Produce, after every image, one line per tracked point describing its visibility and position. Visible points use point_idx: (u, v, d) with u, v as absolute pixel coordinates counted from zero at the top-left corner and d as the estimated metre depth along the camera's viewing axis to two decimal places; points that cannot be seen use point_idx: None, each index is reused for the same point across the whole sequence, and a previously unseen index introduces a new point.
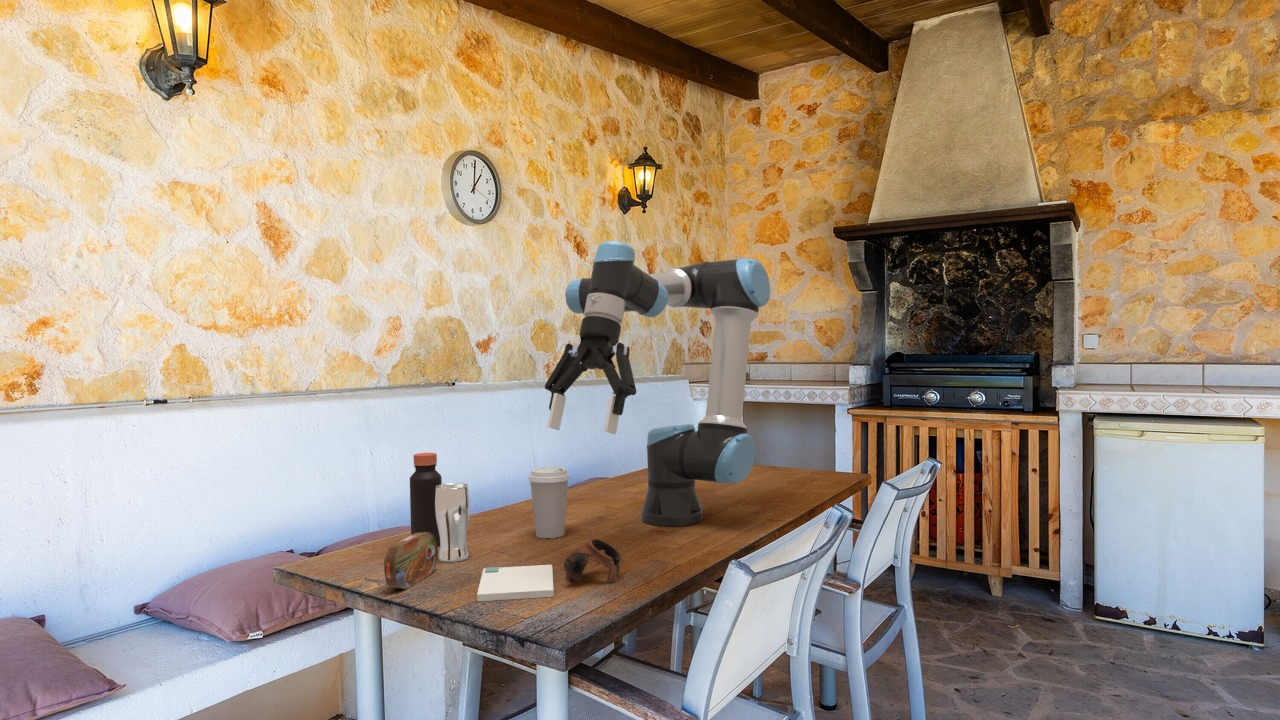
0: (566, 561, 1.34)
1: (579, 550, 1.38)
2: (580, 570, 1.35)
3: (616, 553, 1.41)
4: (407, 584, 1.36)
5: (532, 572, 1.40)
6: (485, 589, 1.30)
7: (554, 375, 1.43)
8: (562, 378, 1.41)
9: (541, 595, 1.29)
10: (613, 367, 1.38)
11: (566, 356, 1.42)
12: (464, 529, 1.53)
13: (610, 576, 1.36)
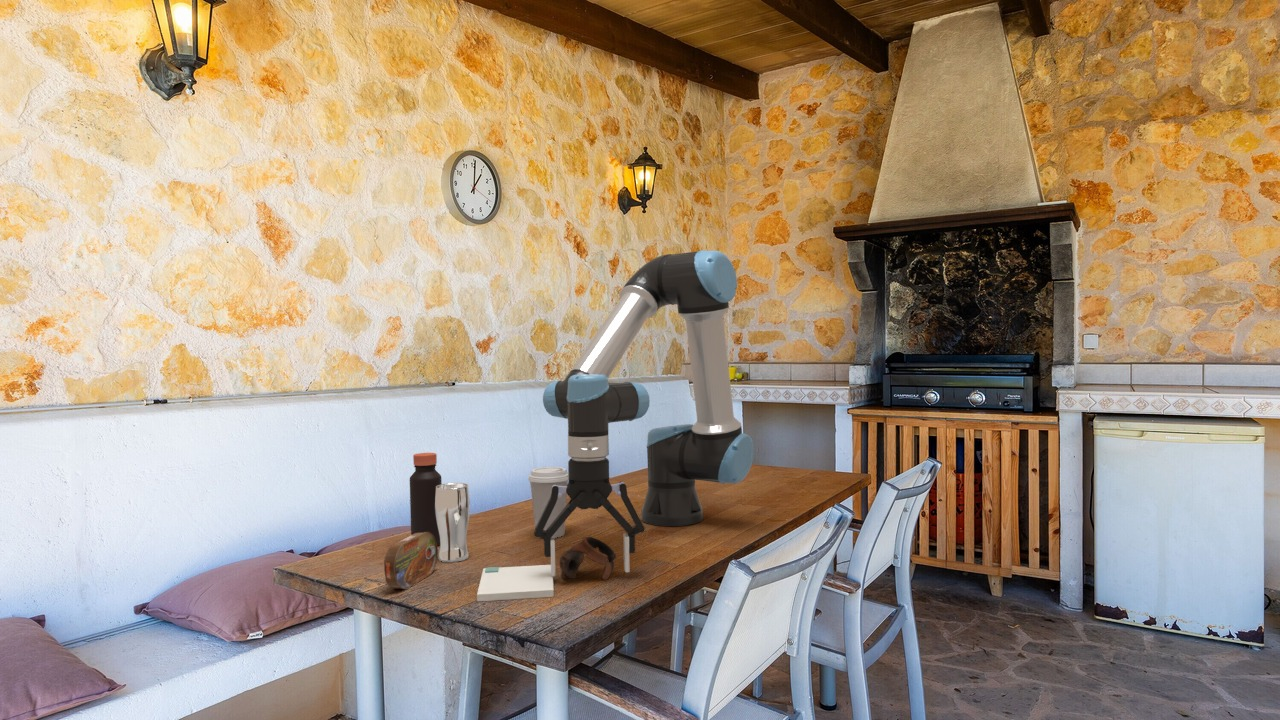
0: (562, 559, 1.36)
1: (574, 548, 1.39)
2: (575, 568, 1.37)
3: (610, 551, 1.42)
4: (407, 584, 1.36)
5: (532, 572, 1.40)
6: (485, 589, 1.30)
7: (545, 521, 1.36)
8: (557, 524, 1.36)
9: (541, 595, 1.29)
10: (611, 504, 1.40)
11: (556, 500, 1.36)
12: (464, 529, 1.53)
13: (605, 573, 1.38)
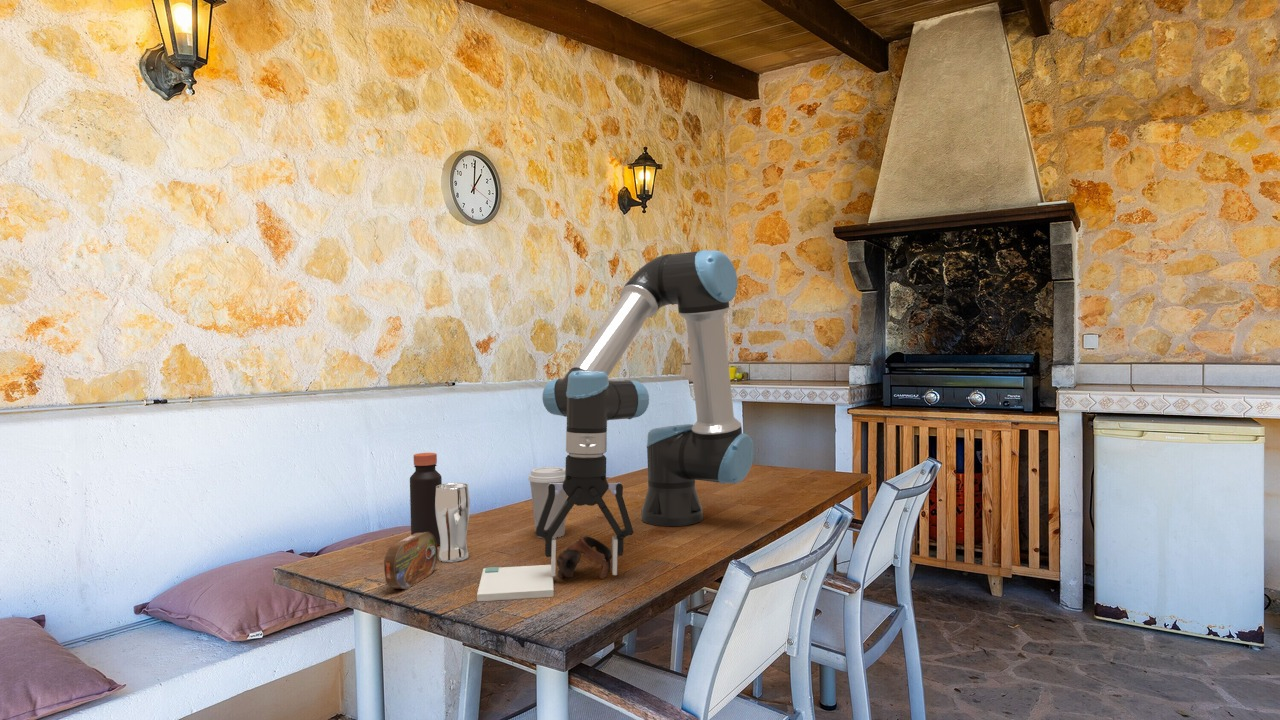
0: (559, 558, 1.36)
1: (571, 547, 1.40)
2: (573, 567, 1.37)
3: (607, 550, 1.43)
4: (407, 584, 1.36)
5: (532, 572, 1.40)
6: (485, 589, 1.30)
7: (545, 520, 1.36)
8: (557, 523, 1.36)
9: (541, 595, 1.29)
10: None
11: (554, 498, 1.36)
12: (464, 529, 1.53)
13: (602, 573, 1.38)
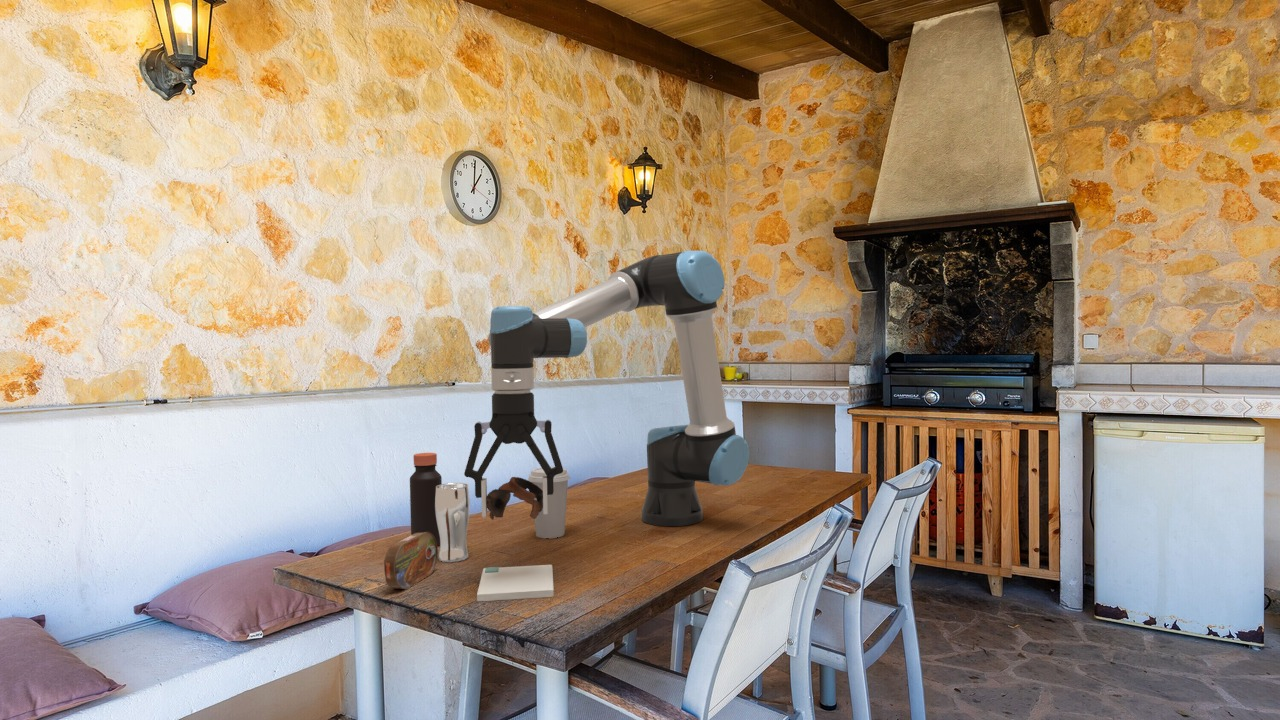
0: (487, 498, 1.33)
1: (501, 488, 1.37)
2: (502, 507, 1.35)
3: (540, 491, 1.40)
4: (407, 584, 1.36)
5: (532, 572, 1.40)
6: (485, 589, 1.30)
7: (473, 460, 1.33)
8: (485, 462, 1.34)
9: (541, 595, 1.29)
10: (534, 442, 1.37)
11: (481, 437, 1.33)
12: (464, 529, 1.53)
13: (533, 512, 1.36)
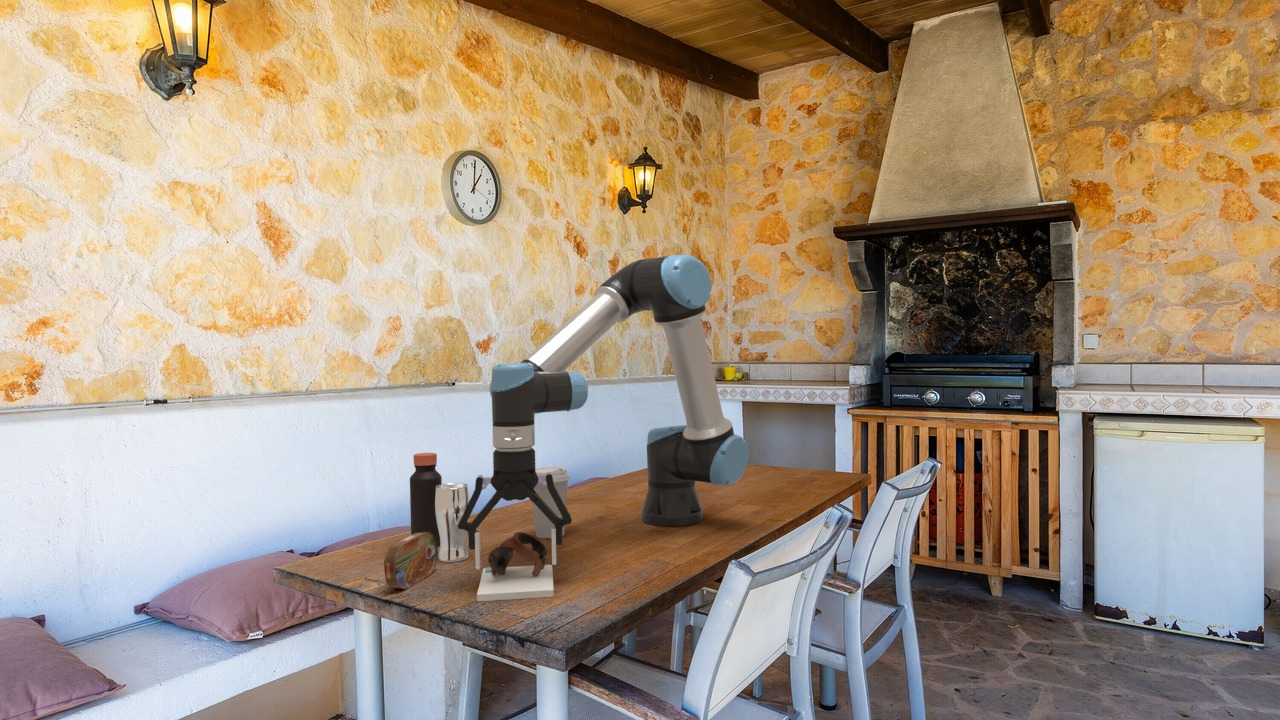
0: (490, 555, 1.33)
1: (504, 544, 1.37)
2: (505, 564, 1.35)
3: (542, 547, 1.40)
4: (407, 584, 1.36)
5: None
6: (485, 589, 1.30)
7: (468, 513, 1.33)
8: (481, 516, 1.34)
9: (541, 595, 1.29)
10: (538, 495, 1.37)
11: (480, 492, 1.34)
12: None
13: (535, 571, 1.36)
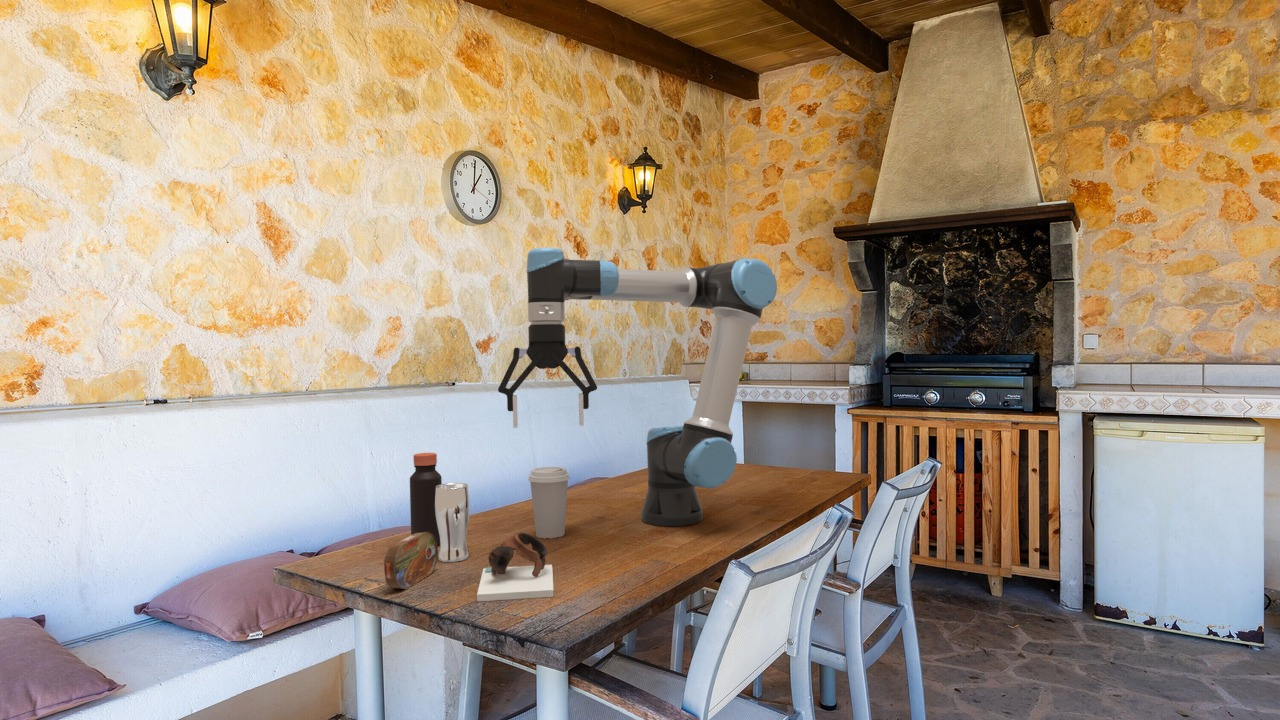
0: (490, 555, 1.33)
1: (505, 544, 1.37)
2: (505, 564, 1.35)
3: (543, 547, 1.41)
4: (407, 584, 1.36)
5: None
6: (485, 589, 1.30)
7: (507, 379, 1.52)
8: (518, 381, 1.53)
9: (541, 595, 1.29)
10: None
11: None
12: (464, 529, 1.53)
13: (535, 570, 1.36)
